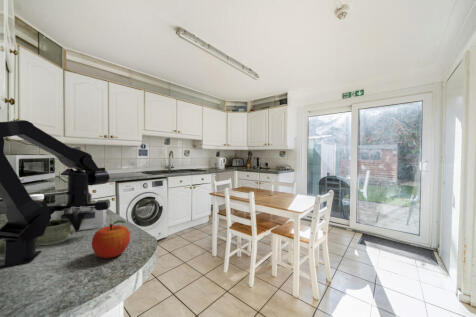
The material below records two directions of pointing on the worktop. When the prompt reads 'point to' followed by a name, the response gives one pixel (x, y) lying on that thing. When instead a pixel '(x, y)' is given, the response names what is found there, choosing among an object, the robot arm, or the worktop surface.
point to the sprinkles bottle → (37, 197)
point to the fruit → (111, 240)
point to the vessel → (56, 232)
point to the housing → (86, 219)
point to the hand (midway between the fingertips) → (77, 230)
